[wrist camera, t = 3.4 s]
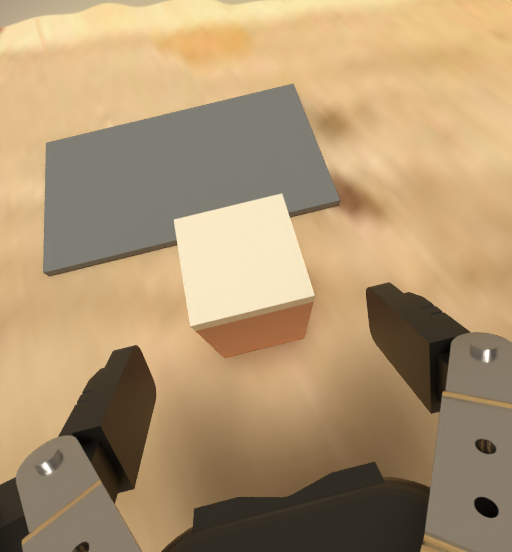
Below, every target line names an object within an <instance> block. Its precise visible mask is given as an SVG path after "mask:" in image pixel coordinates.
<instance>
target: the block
mask: <svg viewBox="0 0 512 552" xmlns="http://www.w3.org/2000/svg"><path fill="white" fill-rule="evenodd" d="M174 226H175V232H176V239H177V245H178V251H179V258H180V264H181V271H182V277H183V283H184V290H185V296H186V302H187V309H188V315H189V322H190V327H192V328H193V329H194V330H195V331H196V332H197V333H198V334H199V335H200V336H201V337H202V338H203V339H205V340H206V341H207V342H208V343H209V344H210V345H211V346H212V347H213V348H214V349H215V350H216V351H218V352H219V353H220V354H221V355H222V356H223V357H224V358H226V357H230V356H234V355H238V354H242V353H246V352H250V351H254V350H258V349H262V348H266V347H270V346H274V345H278V344H282V343H286V342H291V341H295V340H299V339H303V338H304V337H305V333H306V329H307V325H308V321H309V317H310V313H311V309H312V305H313V301H314V297H315V295H314V292H313V288H312V285H311V282H310V279H309V276H308V273H307V270H306V266H305V263H304V260H303V257H302V254H301V251H300V248H299V245H298V241H297V238H296V235H295V232H294V229H293V226H292V223H291V219H290V216H289V213H288V210H287V207H286V204H285V201H284V198H283V194H278V195H273V196H269V197H265V198H261V199H257V200H253V201H249V202H244V203H240V204H236V205H232V206H228V207H224V208H220V209H216V210H211V211H207V212H203V213H199V214H195V215H191V216H187V217H183V218H178V219H174Z"/></svg>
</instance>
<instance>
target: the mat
mask: <svg viewBox="0 0 512 552" xmlns="http://www.w3.org/2000/svg"><path fill="white" fill-rule="evenodd" d="M278 194H283V198H284V201H285V204H286V207H287V210H288V213H289V216H290V217H292V216H296V215H300V214H304V213H309V212H313V211H317V210H321V209H325V208H329V207H333V206H337V205H339V202H340V199H339V196H338V194H337V191H336V189H335V186H334V184H333V181H332V179H331V176H330V174H329V171H328V169H327V166H326V164H325V161H324V159H323V156H322V154H321V151H320V149H319V146H318V144H317V141H316V139H315V136H314V134H313V131H312V129H311V126H310V124H309V121H308V119H307V116H306V114H305V111H304V109H303V106H302V104H301V101H300V99H299V96H298V94H297V91H296V89H295V86H294V84H290V85H286V86H282V87H277V88H273V89H269V90H265V91H261V92H257V93H252V94H248V95H244V96H240V97H236V98H231V99H227V100H223V101H219V102H215V103H211V104H206V105H202V106H198V107H194V108H190V109H186V110H181V111H177V112H173V113H169V114H165V115H161V116H156V117H152V118H148V119H144V120H140V121H135V122H131V123H127V124H123V125H119V126H115V127H110V128H106V129H102V130H98V131H94V132H90V133H85V134H81V135H77V136H73V137H69V138H64V139H60V140H56V141H52V142H48V143H46V168H45V213H44V258H43V273H45V274H46V275H48V276H51V275H55V274H59V273H63V272H67V271H72V270H76V269H80V268H84V267H88V266H92V265H96V264H100V263H104V262H108V261H112V260H116V259H121V258H125V257H129V256H133V255H137V254H141V253H145V252H149V251H153V250H157V249H161V248H166V247H170V246H174V245H177V239H176V232H175V226H174V219H178V218H183V217H187V216H191V215H195V214H199V213H203V212H207V211H211V210H216V209H220V208H224V207H228V206H232V205H236V204H240V203H244V202H249V201H253V200H257V199H261V198H265V197H269V196H273V195H278Z"/></svg>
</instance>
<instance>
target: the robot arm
mask: <svg viewBox="0 0 512 552" xmlns="http://www.w3.org/2000/svg"><path fill="white" fill-rule="evenodd" d="M366 299H367V309H368V318H369V327H370V332H371V335H372V338H373V340H374V342H375V343H376V345H377V346H378V347H379V349H380V350H381V351H382V352H383V354H384V355H385V356H386V357H387V359H388V360H389V361H390V363H391V364H392V365H393V366H394V368H395V369H396V370H397V371H398V373H399V374H400V375H401V376H402V378H403V379H404V380H405V381H406V383H407V384H408V385H409V386H410V388H411V389H412V390H413V392H414V393H415V394H416V395H417V397H418V398H419V399H420V400H421V402H422V403H423V404H424V405H425V407H426V408H427V409H428V410H429V412H430V413H431V414H432V413H436V412H439V411H440V416H439V424H438V432H437V440H436V448H435V456H434V464H433V472H432V479H431V487H428V486H425V485H422V484H420V483H417V482H414V481H410V480H405V479H401V478H393V477H382V475H381V473H380V471H379V469H378V467H377V465H376V463H375V462H372V463H368V464H364V465H360V466H357V467H353V468H349V469H345V470H341V471H337V472H333V473H330V474H328V475H327V476H325V477H323V478H321V479H319V480H318V481H316V482H314V483H312V484H311V485H309V486H307V487H305V488H303V489H302V490H300V491H298V492H296V493H294V494H293V495H291V496H288V497H237V498H233V499H229V500H226V501H222V502H218V503H214V504H210V505H206V506H202V507H199V508H195V509H194V518H193V527H191V528H190V529H188V530H186V531H185V532H184V533H182V534H181V535H179V536H178V537H177V538H175V539H174V540H173V541H172V542H171V543H170V544H169V545H167V546H166V547H165V548H164V549H163V550H162V551H161V552H512V342H510V341H509V340H507V339H505V338H503V337H500V336H497V335H494V334H489V333H480V332H472V333H471V332H470V331H468V330H467V329H466V328H464V327H463V326H462V325H460V324H459V323H458V322H456V321H455V320H454V319H452V318H451V317H449V316H448V315H447V314H445V313H442V311H441V310H440V309H439V308H437V307H436V306H434V305H433V304H432V303H431V302H429V301H428V300H427V299H425V298H424V297H422V296H419V295H416V294H413V293H410V292H407V293H403V292H401V291H400V290H399V289H398V288H396V287H395V286H394V285H393V284H391V283H389V282H388V283H384V284H380V285H376V286H372V287H368V288H367V289H366ZM82 393H83V395H81V396H80V398H79V400H78V401H77V405H75V407H74V409H73V411H72V412H71V414H70V416H69V418H68V420H67V422H66V423H65V425H64V427H63V429H62V431H61V433H60V434H59V436H58V437H57V438H54V439H52V440H50V441H48V442H46V443H45V444H43V445H41V446H40V447H38V448H37V449H36V450H35V451H33V452H32V453H31V454H30V455H29V456H28V457H27V458H26V459H25V460H24V462H23V463H22V464H21V466H20V468H19V469H18V471H17V474H16V477H15V478H13V479H11V480H9V481H7V482H5V483H3V484H1V485H0V552H142V550H141V548H140V547H139V545H138V543H137V542H136V540H135V538H134V536H133V535H132V533H131V531H130V529H129V528H128V526H127V524H126V522H125V521H124V519H123V517H122V515H121V514H120V512H119V510H118V509H117V507H116V505H115V501H116V498H117V494H118V493H121V492H124V491H128V490H132V489H134V488H135V483H136V479H137V475H138V471H139V467H140V463H141V459H142V455H143V450H144V446H145V442H146V438H147V434H148V430H149V426H150V422H151V417H152V413H153V409H154V405H155V401H156V387H155V383H154V380H153V378H152V375H151V373H150V370H149V368H148V366H147V363H146V361H145V359H144V356H143V354H142V352H141V350H140V348H139V347H138V346H137V345H134V346H130V347H126V348H122V349H118V350H115V351H113V352H112V354H111V356H110V358H109V360H108V362H107V364H106V366H105V368H102V369H100V370H99V371H98V372H97V373H96V374H95V375H94V376H93V377H92V378H91V379H90V380H89V381H88V383H87V385H86V387H85V389H84V390H83V392H82Z"/></svg>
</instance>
